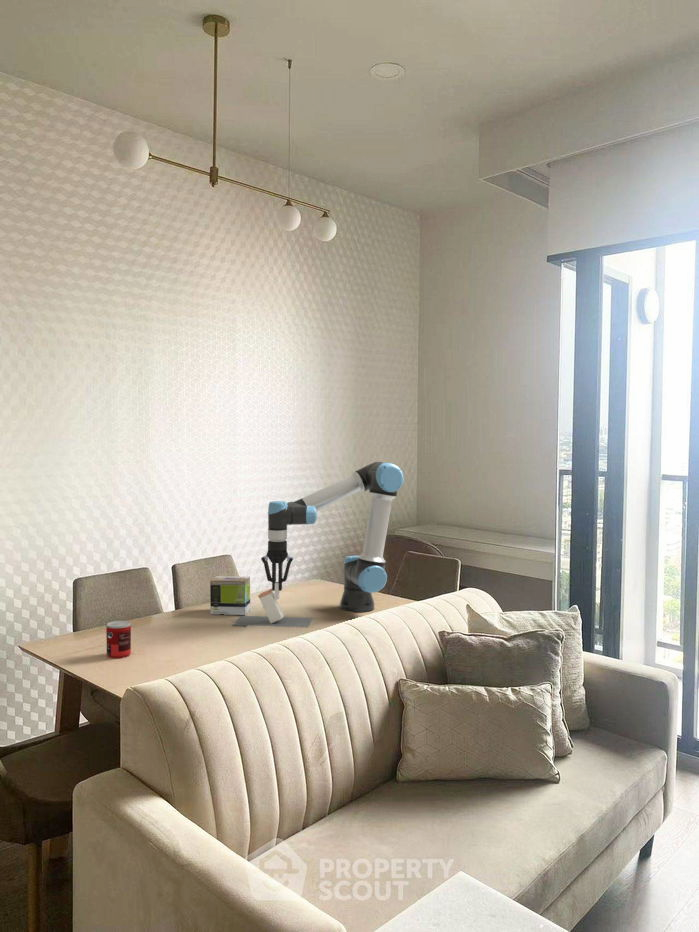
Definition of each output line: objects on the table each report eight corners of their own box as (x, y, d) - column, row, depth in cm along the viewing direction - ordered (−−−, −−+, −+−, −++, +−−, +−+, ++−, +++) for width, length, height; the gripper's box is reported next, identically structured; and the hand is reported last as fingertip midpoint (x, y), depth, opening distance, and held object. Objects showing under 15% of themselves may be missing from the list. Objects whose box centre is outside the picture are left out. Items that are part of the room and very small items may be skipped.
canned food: (109, 652, 249) (109, 620, 249) (133, 651, 250) (132, 620, 249) (103, 659, 242) (103, 626, 241) (128, 658, 242) (128, 626, 242)
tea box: (250, 610, 309) (250, 576, 308) (244, 616, 299) (245, 580, 298) (216, 608, 310) (216, 575, 310) (209, 614, 300) (209, 579, 300)
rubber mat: (312, 619, 295) (312, 617, 295) (308, 628, 281) (308, 627, 281) (240, 616, 297) (240, 615, 297) (232, 626, 283) (232, 624, 283)
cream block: (284, 615, 290) (271, 588, 290) (282, 618, 285) (269, 591, 285) (273, 620, 291) (260, 593, 291) (270, 623, 286) (258, 596, 286)
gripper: (295, 539, 290) (294, 596, 291) (263, 538, 291) (262, 596, 292) (292, 541, 282) (291, 601, 283) (259, 541, 283) (259, 600, 284)
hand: (277, 598), depth 288 cm, fingers closed
